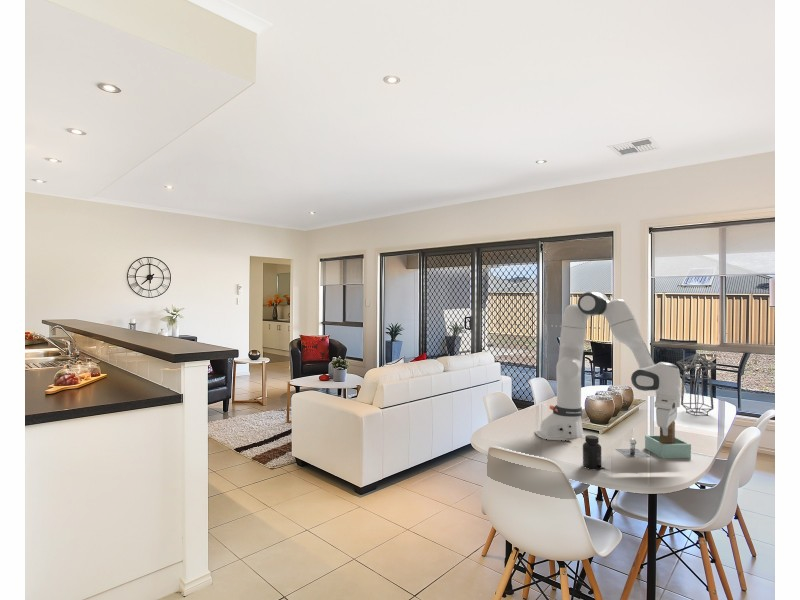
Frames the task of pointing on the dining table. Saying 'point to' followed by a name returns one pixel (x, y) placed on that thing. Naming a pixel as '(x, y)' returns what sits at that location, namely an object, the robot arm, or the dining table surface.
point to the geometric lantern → (698, 382)
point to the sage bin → (668, 447)
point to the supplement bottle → (592, 453)
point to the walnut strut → (671, 435)
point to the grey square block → (632, 451)
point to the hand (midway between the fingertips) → (667, 433)
